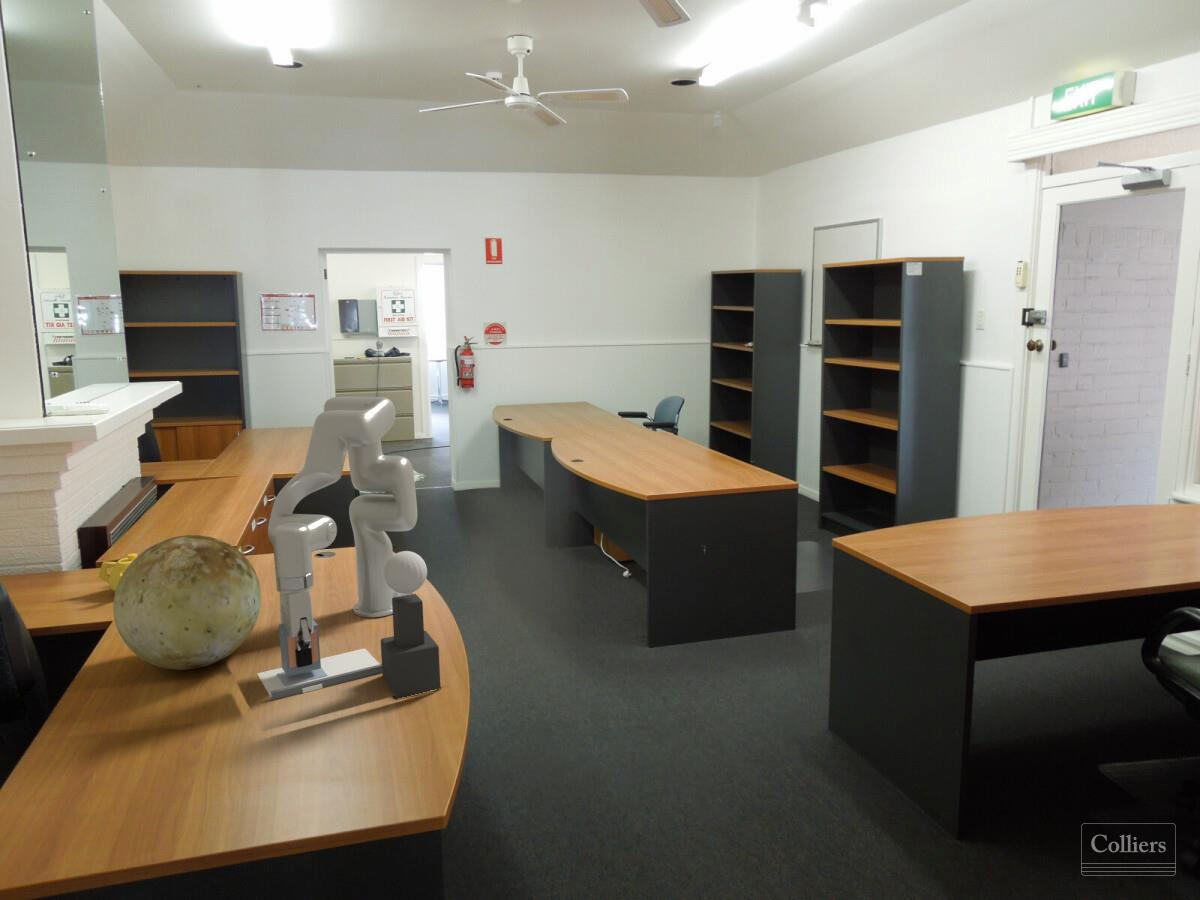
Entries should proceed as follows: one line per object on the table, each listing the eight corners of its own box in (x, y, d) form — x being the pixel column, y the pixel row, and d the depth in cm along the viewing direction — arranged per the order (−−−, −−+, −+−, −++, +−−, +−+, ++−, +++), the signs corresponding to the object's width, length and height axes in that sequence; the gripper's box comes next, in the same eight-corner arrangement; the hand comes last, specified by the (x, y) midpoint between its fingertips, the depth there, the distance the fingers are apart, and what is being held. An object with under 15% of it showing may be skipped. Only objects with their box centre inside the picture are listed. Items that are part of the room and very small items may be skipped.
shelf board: (365, 654, 197) (364, 642, 197) (387, 678, 185) (386, 665, 184) (257, 679, 184) (256, 667, 184) (273, 707, 172) (272, 693, 171)
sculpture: (393, 701, 174) (386, 562, 169) (382, 681, 183) (374, 549, 178) (441, 690, 179) (435, 554, 173) (427, 672, 187) (421, 542, 182)
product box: (282, 668, 183) (278, 624, 181) (314, 660, 187) (311, 617, 185) (288, 676, 179) (284, 632, 177) (321, 668, 182) (318, 625, 181)
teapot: (161, 600, 235) (156, 562, 233) (89, 606, 230) (84, 567, 228) (177, 578, 254) (174, 542, 252) (112, 583, 249) (108, 547, 247)
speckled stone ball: (275, 633, 210) (266, 516, 205) (253, 685, 182) (241, 552, 176) (145, 644, 204) (131, 524, 199) (100, 700, 175) (84, 562, 170)
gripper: (267, 573, 184) (274, 651, 187) (286, 595, 170) (292, 679, 173) (302, 567, 188) (308, 643, 192) (323, 588, 174) (329, 670, 177)
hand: (300, 660), depth 182 cm, fingers closed on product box, 5 cm apart
